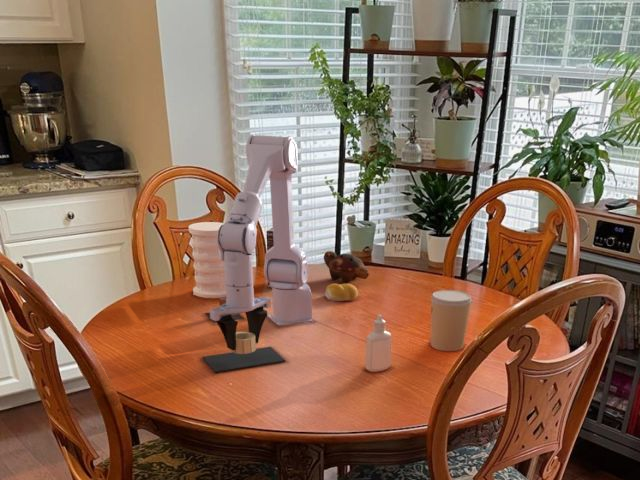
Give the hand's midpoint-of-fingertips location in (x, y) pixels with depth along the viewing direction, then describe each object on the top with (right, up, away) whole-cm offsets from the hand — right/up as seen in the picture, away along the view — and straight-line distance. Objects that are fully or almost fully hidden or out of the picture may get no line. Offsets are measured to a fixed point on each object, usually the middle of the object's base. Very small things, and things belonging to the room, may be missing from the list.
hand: (243, 345), depth 155 cm
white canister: (+46, +2, +13) cm, 48 cm away
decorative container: (-15, +23, +43) cm, 51 cm away
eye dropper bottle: (+29, -5, 0) cm, 30 cm away
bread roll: (+20, +21, +43) cm, 52 cm away
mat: (0, -3, +2) cm, 3 cm away
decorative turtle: (+21, +30, +58) cm, 69 cm away
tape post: (-9, +12, +26) cm, 30 cm away
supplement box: (+2, +27, +52) cm, 59 cm away
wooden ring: (0, -1, 0) cm, 1 cm away
